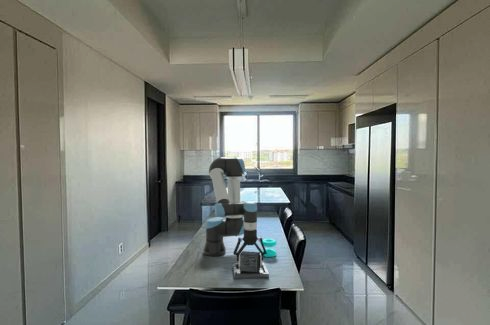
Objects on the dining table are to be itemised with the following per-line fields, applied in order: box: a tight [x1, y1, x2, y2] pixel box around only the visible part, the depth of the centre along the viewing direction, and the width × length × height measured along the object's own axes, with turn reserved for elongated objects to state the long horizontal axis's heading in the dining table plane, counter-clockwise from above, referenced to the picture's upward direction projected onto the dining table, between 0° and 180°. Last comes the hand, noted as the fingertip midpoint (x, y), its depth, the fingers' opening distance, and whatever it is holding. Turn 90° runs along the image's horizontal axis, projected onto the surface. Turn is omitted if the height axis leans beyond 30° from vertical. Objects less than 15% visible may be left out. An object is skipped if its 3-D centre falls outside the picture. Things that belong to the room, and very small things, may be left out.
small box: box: [240, 250, 261, 273], centre depth 185 cm, size 11×6×10 cm, turn 75°
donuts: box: [261, 238, 277, 258], centre depth 214 cm, size 10×10×10 cm
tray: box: [232, 261, 270, 280], centre depth 185 cm, size 19×17×2 cm
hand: (250, 266), depth 185 cm, fingers closed on small box, 12 cm apart
